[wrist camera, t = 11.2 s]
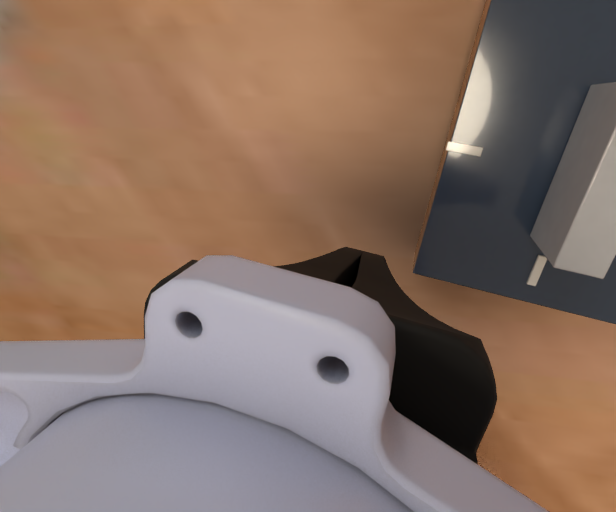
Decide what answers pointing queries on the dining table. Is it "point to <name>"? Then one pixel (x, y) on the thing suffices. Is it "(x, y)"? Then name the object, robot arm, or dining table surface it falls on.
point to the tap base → (517, 152)
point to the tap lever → (583, 192)
